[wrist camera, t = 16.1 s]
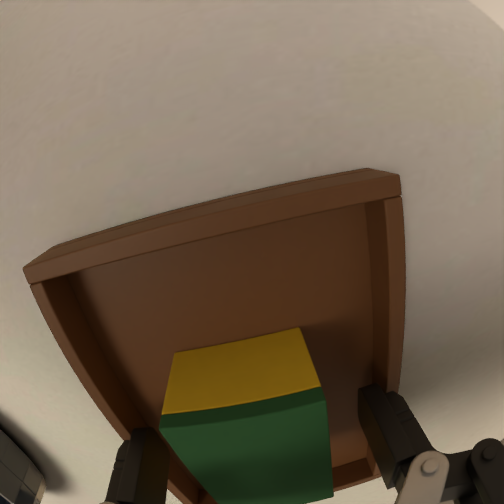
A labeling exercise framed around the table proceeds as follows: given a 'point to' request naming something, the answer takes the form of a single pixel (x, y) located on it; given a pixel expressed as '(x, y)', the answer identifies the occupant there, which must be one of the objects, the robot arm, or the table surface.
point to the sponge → (251, 420)
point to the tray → (238, 300)
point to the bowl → (18, 475)
